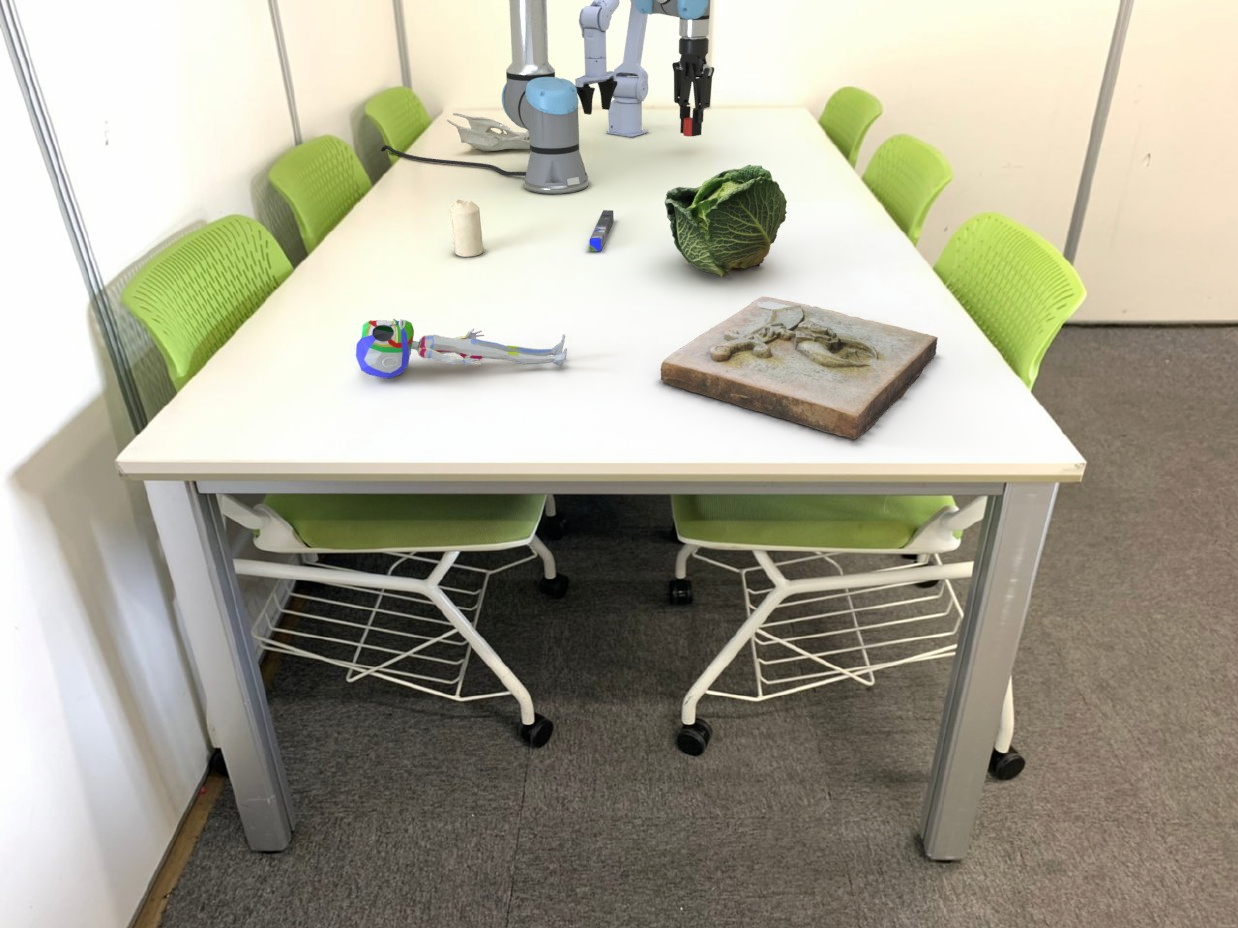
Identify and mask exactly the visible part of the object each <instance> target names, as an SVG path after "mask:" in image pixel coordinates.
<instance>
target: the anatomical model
mask: <svg viewBox="0 0 1238 928" xmlns="http://www.w3.org/2000/svg"><path fill="white" fill-rule="evenodd" d="M452 116H455V117H460V118H463V119H465V120H467V121H468V124H469V126H470V128H469V127H464V126H462V125H458V124H456V123H454V122H453V121H451V120H449V119H446V122H447V123H449V124H451V125H452V126H454V127H456V129H457V132H458V135H459V138H460V143H463V144H464V143H465V144H468V145H470V146H471V147H472V148H474V149H478V150H479V151H482V152H498V151H502V150H507V149H508V150H510V149H519V150H520V149H522V150H530V142H529V131H528V130H526V132H519V131H513V130H512V129H511V127H509V126H508V125H506V124H504V123H502V122H500V121H498V120H495V119H492V118H488V117H484V116H483V117H482V116H470V115H466V114H463V113H458V112H453V113H452ZM493 129H497V130H499V131H501V132H496V131H494V130H493Z"/></svg>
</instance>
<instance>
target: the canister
mask: <svg viewBox="0 0 1238 928" xmlns="http://www.w3.org/2000/svg"><path fill="white" fill-rule="evenodd" d="M692 118H693V116H692V117H691V116H690V117H689V118H684V126H683V133H682V135H683V136H684V137H693V136H692Z"/></svg>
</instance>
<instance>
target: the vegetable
mask: <svg viewBox="0 0 1238 928" xmlns="http://www.w3.org/2000/svg"><path fill="white" fill-rule="evenodd" d="M665 196H666V197H665V199H664V205H665V208H666V209H665V210H666V218H667V219H668V221H669V222H670V224H669V228H670V231H671V236H672V238H673V239H674V240H673V243H674V245H675V247H676V249H677V250H678V252H680V255H681V256H682V257H683V258H684V259H685V261H686V262H687V263H688V264H689V263H691V264H692V265H693V266H694V267H695V268H696V269H699V270H700V271H702V272H704V273H708V274H714V275H715V274H716V275H718V276H719V277H721V278H723V277H724V276H730V274H729V273H728V272H729V271H732V270H734V269H740V268H742V269H747V268H748V267H754V268H756V267H757V268H760V266H761V264H763V263H764V261H765V258H766V257H767V256H768V255H769V253H770V250H771V245H772V244H774V243H775V241H776V239H777V236H778V235H777V234H778V231H779V229H780V227H781V225H782V224H783V223H784V222H786V218H787V216H786V214H787V213H788V211H787V203H788V201H787V199H786V196H785V194H784V192H783V191H782V189H781V188H780V184H779V183H778V181H777V180H774V179H773V176H772V173H771V171H770V170H768V169H765V168H763V165H755V164H754V165H751V164H748V165H745V166H743V167H742V168H732V169H729V170H723V171H721V172H720V173H718V174H716V175H714V176H713V177H711V178H709V179H707V180H704V181H703V182H702V184H701V185H700V186H698V187H684V186H677V187H674V188H672V189H670V190H668V191H667V192H666V194H665Z"/></svg>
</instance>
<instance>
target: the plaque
mask: <svg viewBox="0 0 1238 928" xmlns="http://www.w3.org/2000/svg"><path fill="white" fill-rule="evenodd" d="M938 339H939V338H938V337H937V336H935V335H930V334H928V333H924V332H920V331H917V330H912V329H908V328H904V327H900V326H896V325H891V324H888V323H883V322H878V321H875V320H871V319H863V318H861V317H860V316H859V317H858V316H852V315H848V314H846V313H842V312H839V311H834V310H832V309H831V310H830V309H826V308H822V307H819V306H811V305H808V304H805V303H800V302H794V301H791V300H784V299H779V298H776V297H775V298H774V297H771V296H760V297H758V298H757V299H755V300H753V301H751V303H749V304H748V305H747V306H746V307H744V308H742V309H741V310H739V311H738V312H736V313H735V314H733V315H731V316H730V317H729V318H727V319H725V320H723V321H722V322H720V323H718V324H717V325H715V326H713V327H712V328H710V329H708V330H707V331H705V332H703V333H702V334H699V336H697V337H696V338H694V339H693V340H691V341H689V342H688V343H686V344H685V345H684V346H682V347H680V348H679V349H677V350H676V351H674V352H673V353H671V354H670V355H669V356H667V357H666V358H665V359H664V360H663V361H662V362H661V365H660V380H661V382H663V383H665V384H667V385H670V386H672V387H677V388H679V389H682V390H685V391H688V392H691V393H695V394H701V395H703V396H706V397H709V398H713V399H715V400H719V401H722V402H726V403H730V404H733V405H736V406H739V407H741V408H743V409H744V408H745V409H747V410H751V411H756V412H760V413H762V414H766V415H769V416H772V417H775V418H777V419H784V420H786V421H789V422H793V423H796V424H799V425H802V426H806V427H808V428H812V429H815V430H818V431H820V432H821V431H822V432H824V433H828V434H833V435H836V436H839V437H845V438H849V439H851V440H853V441H856V440H857V438H858V437H859V436H860V435H863V434H864V433H866V432H867V431H868V430H869V429H870V428H871V427H872V426H873V425H875V423H876V422H877V421H878V420H879V419H880V417H881V416H882V415H883V414H884V413H885V412H886V411H887V410H888V409H889V407H891V406H892V405H893V404H894V403H895V401H897V400H899V399H900V398H902V397H903V396H904V394H905V393H906V391H907V390H908V389H909V387H910V386H911V385H912V384H913V383H914V382H915V381H916V380H917V379H918V378H919V377H920V376H921V373H922V372H923V370H924V368H925V367H926V366H927V365H928V364H929V363H930V361H931V360H932V359H933V358H934V357H935V356H936V355H937V345H938Z"/></svg>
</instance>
